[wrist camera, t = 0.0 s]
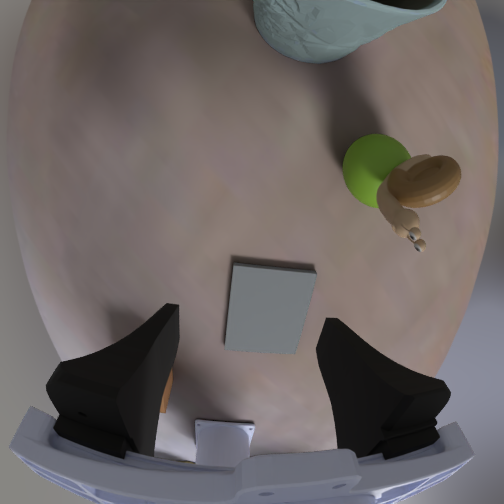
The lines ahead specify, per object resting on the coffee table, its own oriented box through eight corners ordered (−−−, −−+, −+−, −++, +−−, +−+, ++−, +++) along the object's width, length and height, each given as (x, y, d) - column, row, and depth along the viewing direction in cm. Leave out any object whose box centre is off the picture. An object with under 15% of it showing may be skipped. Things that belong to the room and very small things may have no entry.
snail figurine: (309, 166, 20) (389, 190, 9) (368, 122, 18) (477, 113, 7) (346, 219, 21) (433, 289, 10) (400, 176, 20) (507, 210, 9)
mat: (294, 350, 26) (295, 354, 26) (224, 345, 26) (224, 349, 25) (315, 270, 23) (317, 273, 22) (233, 262, 22) (233, 265, 22)
